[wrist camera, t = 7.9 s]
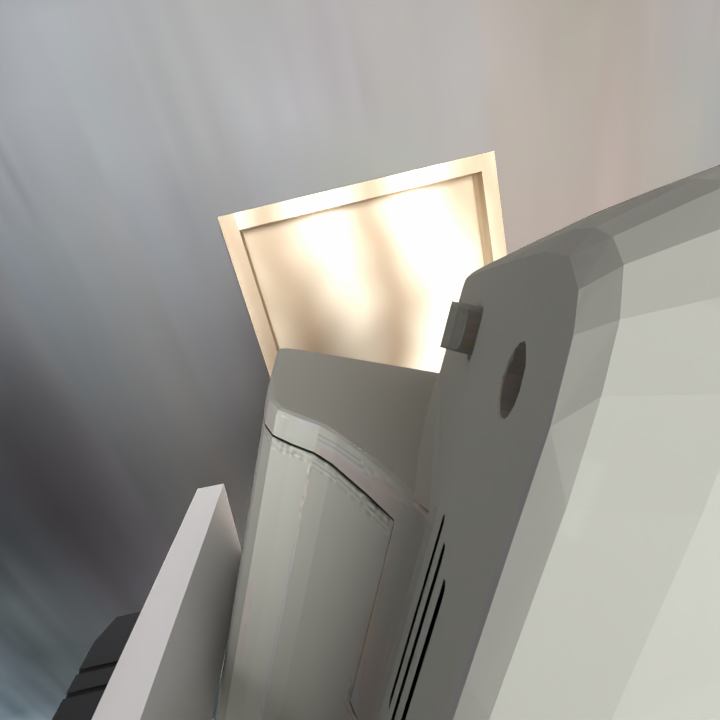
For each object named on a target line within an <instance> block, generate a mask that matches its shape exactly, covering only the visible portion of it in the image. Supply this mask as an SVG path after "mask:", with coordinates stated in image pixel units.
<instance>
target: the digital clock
mask: <svg viewBox="0 0 720 720" xmlns="http://www.w3.org/2000/svg"><path fill="white" fill-rule="evenodd" d="M440 347H442V348H445V349H446V351H445V355H444V358H443V362H442V366H441V370H440V372H439V373H437V372H431V371H424V370H418V369H412V368H406V367H400V366H394V365H388V364H382V363H376V362H370V361H364V360H358V359H352V358H346V357H340V356H334V355H328V354H322V353H316V352H310V351H305V350H299V349H290V348H282V349H279V350H278V352H277V355H276V359H275V363H274V367H273V370H272V374H271V378H270V381H269V385H268V389H267V395H266V401H265V408H264V417H263V423H262V429H261V436H260V442H259V448H258V454H257V460H256V467H255V473H254V479H253V485H252V492H251V498H250V504H249V510H248V516H247V523H246V529H245V535H244V541H243V548H242V554H241V560H240V566H239V572H238V579H237V585H236V591H235V597H234V604H233V610H232V616H231V622H230V628H229V635H228V641H227V647H226V653H225V660H224V666H223V672H222V678H221V684H220V691H219V696H218V701H217V707H216V713H215V720H720V165H718V166H716V167H713V168H710V169H708V170H705V171H702V172H700V173H697V174H694V175H692V176H689V177H686V178H684V179H681V180H678V181H676V182H673V183H670V184H668V185H665V186H662V187H660V188H657V189H654V190H652V191H649V192H647V193H644V194H642V195H639V196H637V197H634V198H632V199H629V200H627V201H624V202H622V203H619V204H617V205H614V206H612V207H609V208H607V209H604V210H602V211H599V212H597V213H594V214H592V215H590V216H588V217H586V218H584V219H582V220H580V221H577V222H575V223H573V224H571V225H569V226H567V227H565V228H563V229H561V230H559V231H556V232H554V233H552V234H550V235H548V236H546V237H544V238H542V239H540V240H538V241H536V242H533V243H531V244H529V245H527V246H525V247H523V248H521V249H519V250H517V251H515V252H512V253H510V254H508V255H506V256H504V257H502V258H500V259H498V260H496V261H494V262H491V263H489V264H487V265H485V266H483V267H481V268H480V269H478V270H476V271H474V272H472V273H471V274H470V275H469V276H468V277H467V278H466V280H465V282H464V285H463V288H462V291H461V295H460V298H459V302H454V301H452V303H451V306H450V310H449V314H448V318H447V322H446V326H445V330H444V333H443V337H442V341H441V345H440Z"/></svg>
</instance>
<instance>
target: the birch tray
mask: <svg viewBox="0 0 720 720" xmlns="http://www.w3.org/2000/svg"><path fill="white" fill-rule="evenodd" d="M218 220H219V223H220V226H221V229H222V232H223V235H224V238H225V242H226V245H227V248H228V251H229V254H230V257H231V260H232V263H233V266H234V269H235V272H236V275H237V278H238V281H239V284H240V287H241V290H242V293H243V296H244V299H245V303H246V306H247V309H248V312H249V315H250V318H251V321H252V324H253V327H254V330H255V333H256V336H257V339H258V342H259V345H260V348H261V351H262V354H263V357H264V360H265V363H266V367H267V370H268V373H269V376H270V378H271V374H272V370H273V367H274V363H275V359H276V355H277V352H278V350H279V349H282V348H290V349H299V350H305V351H310V352H316V353H322V354H328V355H334V356H340V357H346V358H352V359H358V360H364V361H370V362H376V363H382V364H388V365H394V366H400V367H406V368H412V369H418V370H424V371H431V372H437V373H439V372H440V370H441V366H442V362H443V358H444V355H445V351H446V349H445V348H442V347H440V345H441V341H442V337H443V333H444V330H445V326H446V322H447V318H448V314H449V310H450V306H451V303H452V301H454V302H459V298H460V295H461V291H462V288H463V285H464V282H465V280H466V278H467V277H468V276H469V275H470V274H471V273H472V272H474V271H476V270H478V269H480V268H481V267H483V266H485V265H487V264H489V263H491V262H494V261H496V260H498V259H500V258H502V257H504V256H506V255H507V253H506V244H505V236H504V228H503V220H502V212H501V203H500V195H499V187H498V179H497V171H496V162H495V154H494V151H492V152H488V153H484V154H480V155H475V156H471V157H467V158H463V159H459V160H454V161H450V162H446V163H442V164H438V165H433V166H429V167H425V168H421V169H417V170H413V171H408V172H404V173H400V174H396V175H392V176H387V177H383V178H379V179H375V180H371V181H367V182H362V183H358V184H354V185H350V186H346V187H341V188H337V189H333V190H329V191H325V192H320V193H316V194H312V195H308V196H304V197H300V198H295V199H291V200H287V201H283V202H279V203H274V204H270V205H266V206H262V207H258V208H254V209H249V210H245V211H241V212H237V213H233V214H228V215H224V216H220V217H218Z"/></svg>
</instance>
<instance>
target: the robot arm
mask: <svg viewBox="0 0 720 720" xmlns="http://www.w3.org/2000/svg"><path fill="white" fill-rule="evenodd" d="M241 554H242V550H241V546H240V542H239V539H238V535H237V531H236V527H235V524H234V520H233V516H232V512H231V508H230V505H229V501H228V497H227V493H226V490H225V486H224V484H219V485H214V486H209V487H203V488H198V489H197V491H196V493H195V496H194V498H193V500H192V502H191V504H190V506H189V509H188V511H187V513H186V515H185V517H184V519H183V522H182V524H181V526H180V528H179V530H178V533H177V535H176V537H175V539H174V541H173V543H172V546H171V548H170V550H169V552H168V554H167V556H166V559H165V561H164V563H163V565H162V567H161V569H160V572H159V574H158V576H157V578H156V580H155V582H154V585H153V587H152V589H151V591H150V593H149V596H148V598H147V600H146V602H145V604H144V606H143V609H142V611H141V612H138V613H133V614H129V615H124V616H120V617H116V619H115V620H114V621H113V622H112V623H111V624H110V625H109V626H108V627H107V629H106V630H105V631H104V632H103V633H102V634H101V635H100V636H99V637H98V639H97V640H96V641H95V642H94V644H93V646H92V647H91V649H90V651H89V653H88V655H87V657H86V658H85V660H84V662H83V664H82V666H81V668H80V669H79V670H80V673H79V675H76V677H75V679H74V680H73V682H72V684H71V686H70V688H69V690H68V691H67V697H66V699H63V701H62V702H61V704H60V706H59V708H58V710H57V712H56V713H55V715H54V717H53V719H52V720H211V719H212V714H213V709H214V704H215V699H216V694H217V689H218V684H219V679H220V674H221V669H222V664H223V659H224V654H225V649H226V644H227V639H228V634H229V628H230V622H231V616H232V610H233V604H234V597H235V591H236V585H237V579H238V572H239V566H240V560H241Z"/></svg>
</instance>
